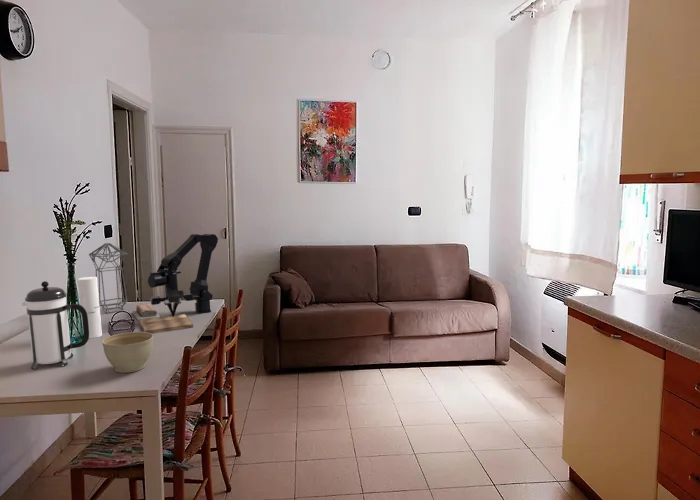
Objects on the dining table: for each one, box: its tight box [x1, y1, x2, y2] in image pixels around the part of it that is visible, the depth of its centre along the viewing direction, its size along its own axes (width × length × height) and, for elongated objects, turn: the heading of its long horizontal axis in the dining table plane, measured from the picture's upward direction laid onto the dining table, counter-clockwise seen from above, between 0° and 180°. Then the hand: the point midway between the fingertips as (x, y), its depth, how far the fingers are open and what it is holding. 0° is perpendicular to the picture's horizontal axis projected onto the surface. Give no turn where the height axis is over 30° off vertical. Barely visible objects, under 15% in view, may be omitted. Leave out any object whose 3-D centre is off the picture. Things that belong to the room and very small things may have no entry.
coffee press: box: [21, 281, 90, 371], centre depth 183 cm, size 17×16×30 cm
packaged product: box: [132, 303, 161, 322], centre depth 251 cm, size 18×5×10 cm
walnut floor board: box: [141, 316, 194, 334], centre depth 229 cm, size 20×14×2 cm
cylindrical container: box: [77, 276, 103, 339], centre depth 216 cm, size 7×7×25 cm
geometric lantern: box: [88, 242, 129, 314], centre depth 261 cm, size 16×16×35 cm
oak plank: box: [139, 313, 188, 326], centre depth 239 cm, size 20×7×2 cm, turn 117°
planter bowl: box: [101, 331, 154, 374], centre depth 176 cm, size 16×16×11 cm
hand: (173, 316), depth 242 cm, fingers closed
